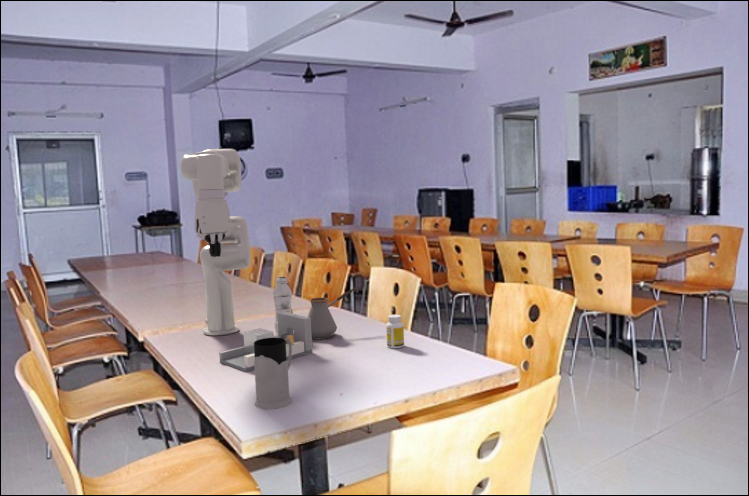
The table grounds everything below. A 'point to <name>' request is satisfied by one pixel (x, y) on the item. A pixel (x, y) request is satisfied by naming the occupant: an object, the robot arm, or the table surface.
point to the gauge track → (285, 325)
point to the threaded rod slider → (258, 338)
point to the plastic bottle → (282, 298)
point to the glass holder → (272, 373)
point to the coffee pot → (323, 317)
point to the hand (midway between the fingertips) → (215, 256)
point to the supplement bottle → (395, 332)
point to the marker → (290, 338)
